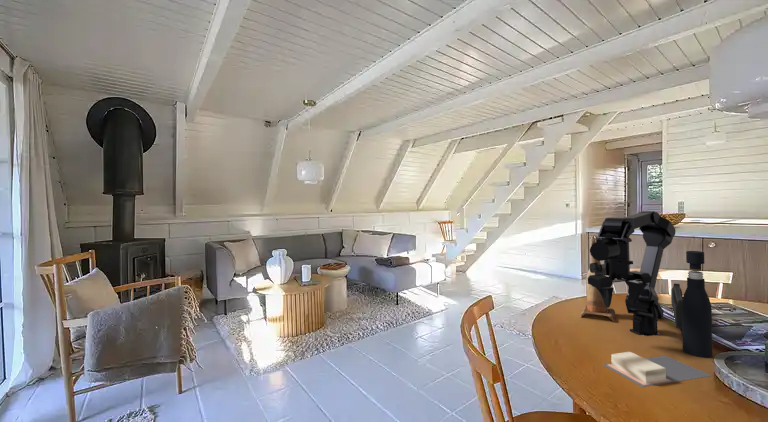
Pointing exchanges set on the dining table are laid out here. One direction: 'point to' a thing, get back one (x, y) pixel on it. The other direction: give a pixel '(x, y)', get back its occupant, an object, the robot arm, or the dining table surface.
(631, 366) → the block
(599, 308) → the brown tall tapered piece
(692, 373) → the mat
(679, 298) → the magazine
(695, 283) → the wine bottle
